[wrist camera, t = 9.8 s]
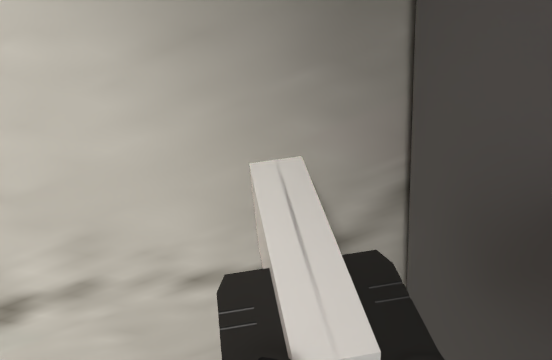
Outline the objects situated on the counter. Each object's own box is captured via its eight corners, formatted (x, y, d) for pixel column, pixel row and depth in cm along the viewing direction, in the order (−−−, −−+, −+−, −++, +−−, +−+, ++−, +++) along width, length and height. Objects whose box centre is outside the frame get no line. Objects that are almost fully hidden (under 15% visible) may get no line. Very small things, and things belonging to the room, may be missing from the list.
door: (366, 361, 21) (517, 784, 12) (354, -84, 13) (920, 114, 3) (435, 348, 21) (641, 752, 12) (470, -100, 13) (1371, 34, 3)
